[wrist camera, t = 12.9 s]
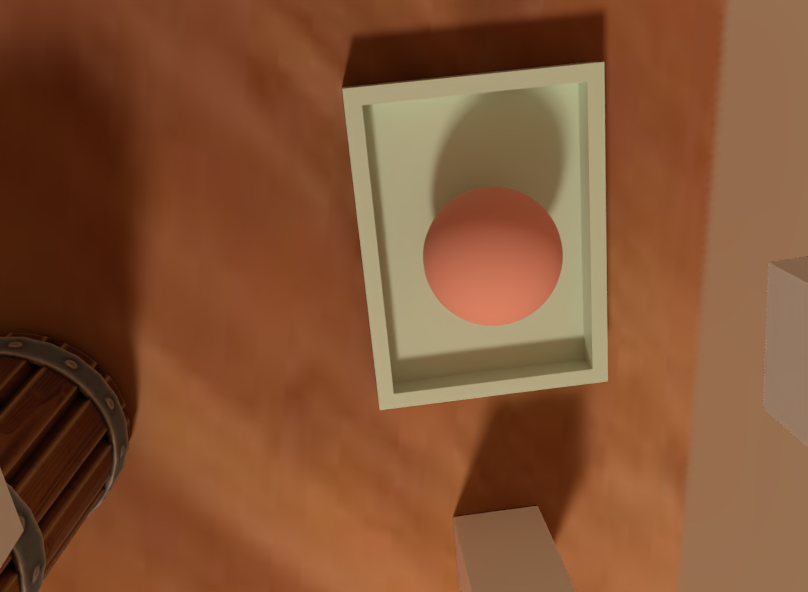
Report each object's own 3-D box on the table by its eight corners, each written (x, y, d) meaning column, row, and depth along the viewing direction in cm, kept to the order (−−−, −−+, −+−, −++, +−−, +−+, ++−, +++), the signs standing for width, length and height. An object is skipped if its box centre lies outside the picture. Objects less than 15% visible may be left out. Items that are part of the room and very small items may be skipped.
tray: (341, 87, 35) (342, 88, 33) (588, 61, 36) (604, 61, 34) (377, 391, 40) (379, 410, 38) (594, 364, 41) (607, 381, 39)
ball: (411, 183, 36) (424, 210, 30) (540, 169, 37) (579, 192, 30) (422, 307, 38) (437, 354, 32) (545, 292, 39) (582, 337, 32)
